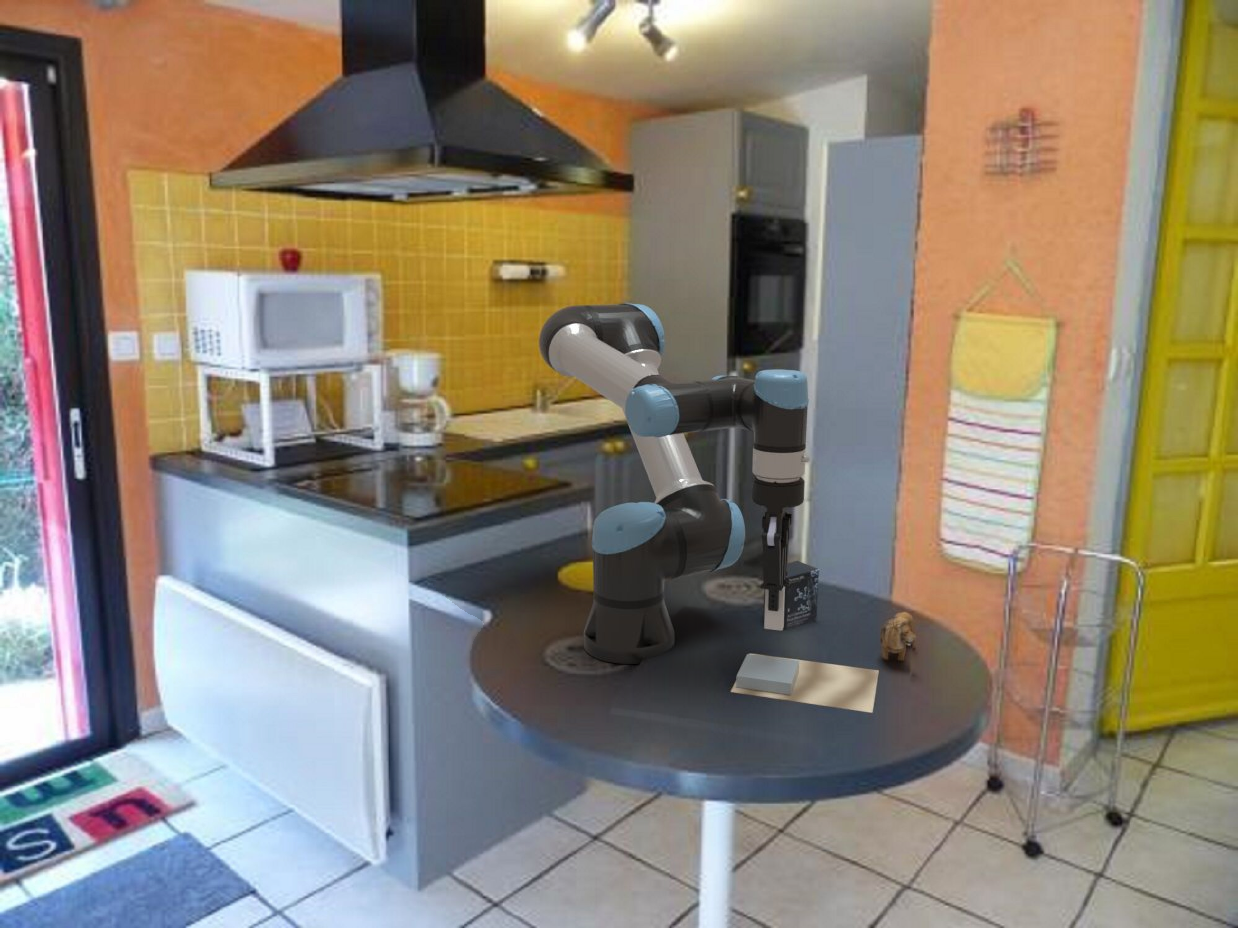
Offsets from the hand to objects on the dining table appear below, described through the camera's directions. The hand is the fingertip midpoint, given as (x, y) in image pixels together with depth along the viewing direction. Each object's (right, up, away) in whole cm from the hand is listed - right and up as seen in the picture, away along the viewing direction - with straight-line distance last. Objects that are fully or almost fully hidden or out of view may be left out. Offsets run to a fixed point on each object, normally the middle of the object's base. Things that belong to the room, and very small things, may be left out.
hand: (773, 627), depth 138 cm
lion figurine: (+21, -7, +7) cm, 24 cm away
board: (+5, -9, -2) cm, 10 cm away
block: (0, -6, +2) cm, 6 cm away
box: (+6, -4, +21) cm, 22 cm away
